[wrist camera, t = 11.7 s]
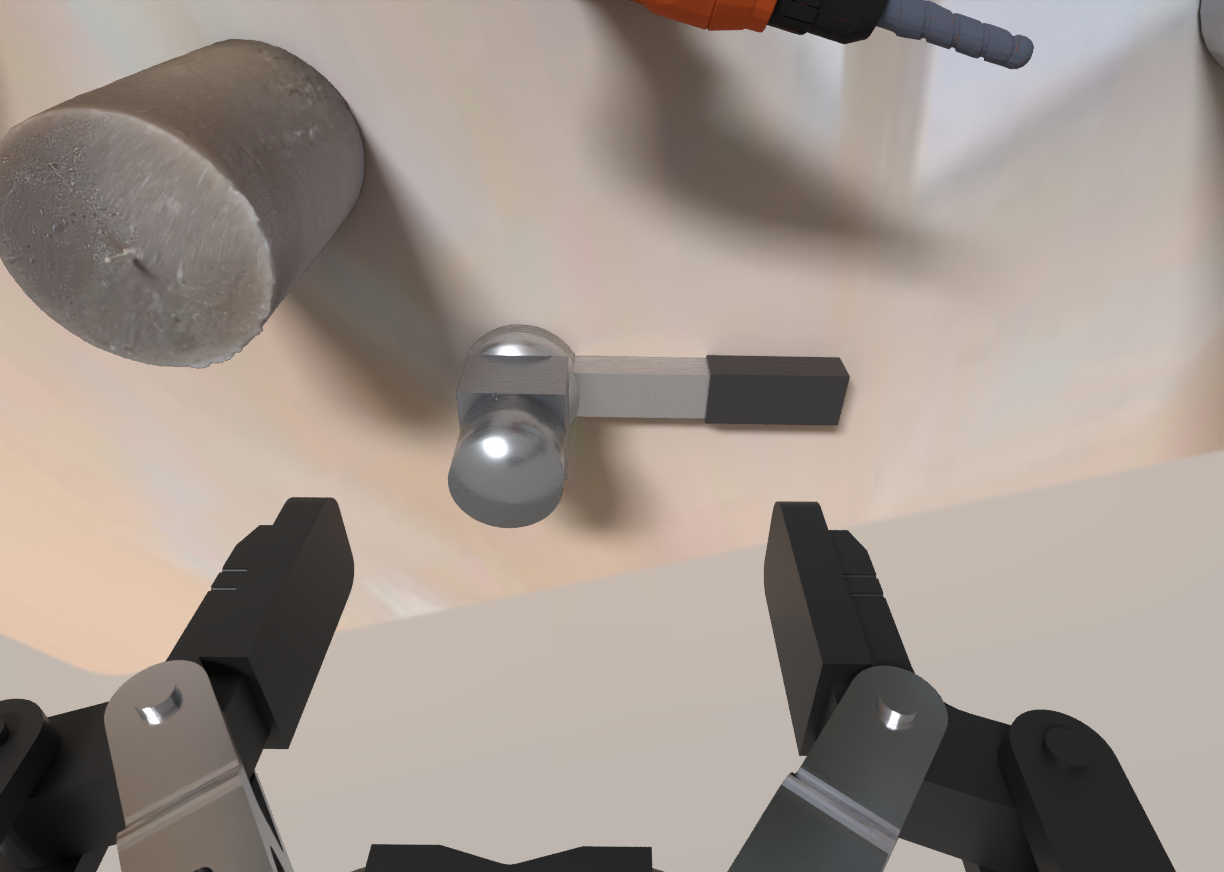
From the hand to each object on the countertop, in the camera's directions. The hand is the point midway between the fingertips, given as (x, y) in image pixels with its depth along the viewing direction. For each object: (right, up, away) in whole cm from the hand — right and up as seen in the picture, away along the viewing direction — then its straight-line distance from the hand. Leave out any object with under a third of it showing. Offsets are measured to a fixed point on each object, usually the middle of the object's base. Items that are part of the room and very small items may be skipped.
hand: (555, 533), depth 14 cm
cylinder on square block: (-4, +4, +29) cm, 30 cm away
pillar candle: (-16, +16, +24) cm, 33 cm away
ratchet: (+3, +5, +31) cm, 32 cm away
